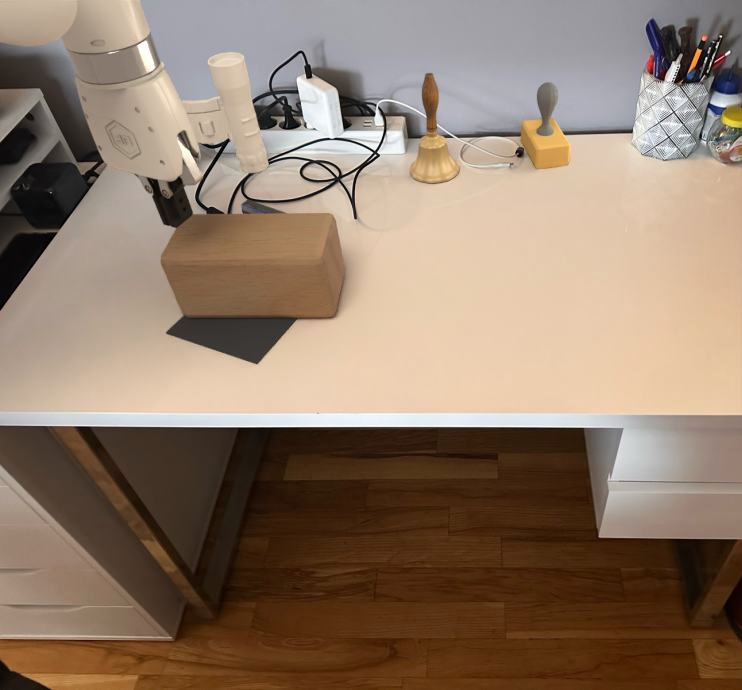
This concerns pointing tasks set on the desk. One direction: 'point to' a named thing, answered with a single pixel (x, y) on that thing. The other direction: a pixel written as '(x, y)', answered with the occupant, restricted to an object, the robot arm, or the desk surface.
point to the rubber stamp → (545, 132)
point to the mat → (233, 334)
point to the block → (255, 265)
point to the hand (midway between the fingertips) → (179, 219)
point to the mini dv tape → (257, 208)
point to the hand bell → (432, 143)
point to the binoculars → (229, 112)
